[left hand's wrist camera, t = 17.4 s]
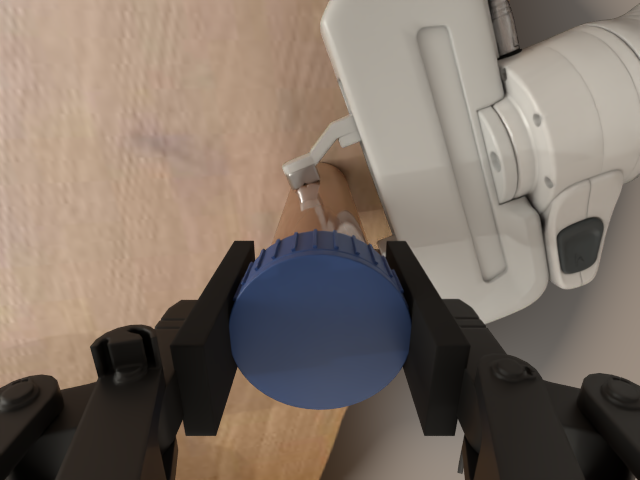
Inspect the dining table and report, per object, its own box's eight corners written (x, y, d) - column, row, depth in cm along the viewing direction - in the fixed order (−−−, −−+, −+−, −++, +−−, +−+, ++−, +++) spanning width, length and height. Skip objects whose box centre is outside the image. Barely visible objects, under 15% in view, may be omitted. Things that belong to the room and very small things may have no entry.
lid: (259, 207, 11) (247, 228, 9) (425, 253, 12) (445, 281, 10) (225, 349, 13) (210, 390, 11) (369, 383, 13) (378, 427, 12)
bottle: (348, 161, 27) (395, 258, 10) (348, 217, 29) (390, 382, 12) (289, 163, 27) (239, 262, 10) (293, 219, 29) (254, 386, 12)
